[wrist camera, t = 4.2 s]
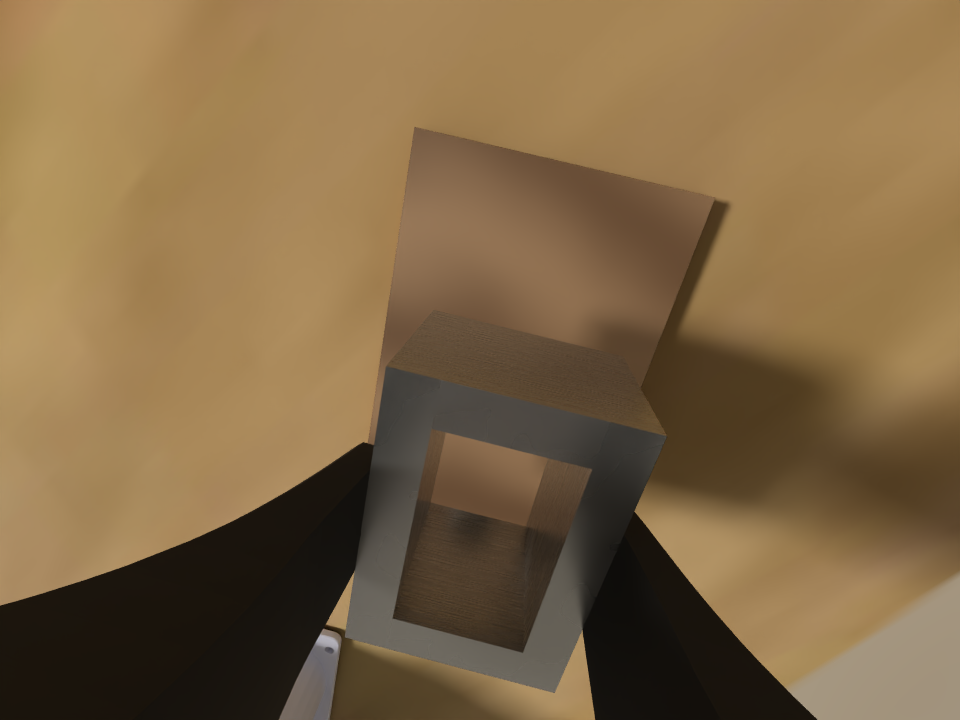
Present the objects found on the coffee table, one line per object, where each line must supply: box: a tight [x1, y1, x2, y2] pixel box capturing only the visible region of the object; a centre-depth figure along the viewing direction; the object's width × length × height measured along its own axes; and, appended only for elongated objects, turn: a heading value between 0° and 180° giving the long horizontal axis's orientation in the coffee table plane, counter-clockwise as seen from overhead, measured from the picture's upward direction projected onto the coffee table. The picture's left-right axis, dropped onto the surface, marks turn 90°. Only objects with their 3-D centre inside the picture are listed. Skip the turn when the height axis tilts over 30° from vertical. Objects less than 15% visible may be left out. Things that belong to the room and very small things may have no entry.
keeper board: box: [368, 127, 715, 527], centre depth 16 cm, size 16×10×4 cm, turn 168°
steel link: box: [345, 310, 667, 693], centre depth 11 cm, size 7×5×4 cm
